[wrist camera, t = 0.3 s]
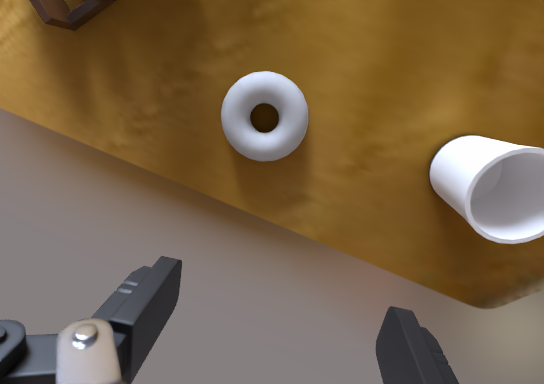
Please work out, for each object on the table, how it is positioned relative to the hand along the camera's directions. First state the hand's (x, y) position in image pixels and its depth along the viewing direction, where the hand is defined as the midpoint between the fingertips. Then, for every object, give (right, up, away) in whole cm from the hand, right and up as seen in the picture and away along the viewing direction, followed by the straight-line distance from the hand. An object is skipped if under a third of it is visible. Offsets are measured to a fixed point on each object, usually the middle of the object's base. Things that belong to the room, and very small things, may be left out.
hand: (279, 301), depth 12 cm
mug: (+23, +7, +26) cm, 35 cm away
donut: (-1, +13, +26) cm, 29 cm away
